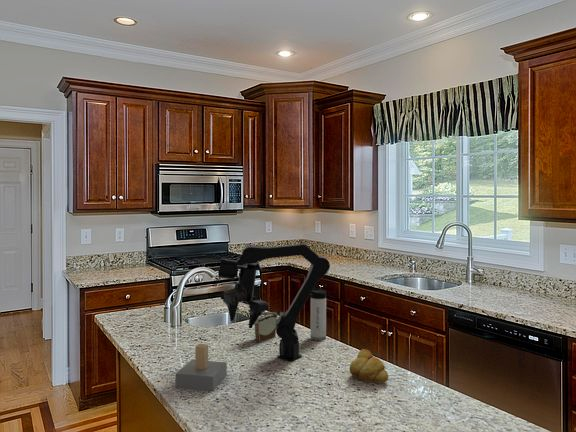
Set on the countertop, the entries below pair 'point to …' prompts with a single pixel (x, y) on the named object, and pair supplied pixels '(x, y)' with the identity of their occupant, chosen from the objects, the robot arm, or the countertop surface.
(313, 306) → the travel mug
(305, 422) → the countertop surface
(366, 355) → the bread roll
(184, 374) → the cover
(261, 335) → the food container
